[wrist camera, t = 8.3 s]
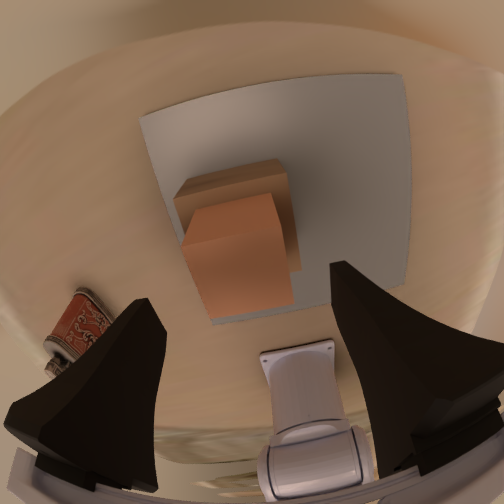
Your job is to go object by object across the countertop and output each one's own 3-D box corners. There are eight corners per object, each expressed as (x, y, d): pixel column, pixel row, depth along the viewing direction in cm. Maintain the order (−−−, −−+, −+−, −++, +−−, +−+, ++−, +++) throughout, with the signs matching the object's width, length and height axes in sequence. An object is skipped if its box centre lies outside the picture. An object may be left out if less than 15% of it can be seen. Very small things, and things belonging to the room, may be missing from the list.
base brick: (291, 239, 20) (302, 270, 16) (211, 255, 20) (205, 289, 17) (277, 158, 17) (286, 172, 13) (186, 179, 17) (172, 199, 14)
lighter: (69, 290, 23) (24, 364, 14) (91, 283, 22) (44, 363, 14) (111, 344, 27) (84, 417, 18) (133, 340, 26) (108, 419, 18)
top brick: (283, 258, 16) (294, 303, 12) (216, 271, 16) (210, 318, 13) (270, 192, 14) (280, 225, 10) (195, 209, 14) (180, 246, 11)
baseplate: (399, 277, 23) (404, 284, 22) (213, 317, 25) (213, 325, 24) (395, 75, 14) (402, 74, 13) (143, 117, 16) (138, 118, 15)
